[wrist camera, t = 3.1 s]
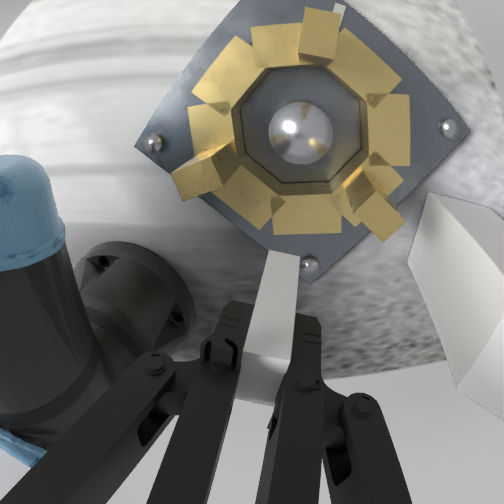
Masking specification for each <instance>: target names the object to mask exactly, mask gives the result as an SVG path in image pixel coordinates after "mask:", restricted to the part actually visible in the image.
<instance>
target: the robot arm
mask: <svg viewBox="0 0 504 504" xmlns="http://www.w3.org/2000/svg"><path fill="white" fill-rule="evenodd" d="M65 241H66V240H65V226H64V223H63V221H62V219H61V218H60V217H59V216H58V212H57V208H56V204H55V200H54V196H53V192H52V188H51V184H50V180H49V177H48V175H47V173H46V171H45V170H44V168H43V167H42V166H41V165H40V164H39V163H38V162H36V161H35V160H33V159H31V158H28V157H25V156H20V155H0V448H1V449H3V450H5V451H6V452H7V453H9V454H10V455H12V456H13V457H15V458H16V459H18V460H19V461H21V462H22V463H24V464H25V465H27V466H29V467H30V468H31V469H30V470H29V471H28V472H27V473H26V474H25V476H23V478H22V479H21V480H20V481H19V482H18V483H17V484H16V485H15V486H14V487H13V488H12V489H11V490H10V491H9V492H8V493H7V494H6V495H5V496H4V498H3V499H2V500H1V501H0V504H106V503H107V502H108V500H109V499H110V498H111V497H112V495H113V494H114V493H115V492H116V490H117V489H118V488H119V487H120V486H121V484H122V483H123V482H124V480H125V479H126V478H127V477H128V476H129V474H130V473H131V472H132V470H133V469H134V468H135V467H136V465H137V464H138V463H139V461H140V460H141V459H142V458H143V456H144V455H145V454H146V453H147V451H148V450H149V449H150V447H151V446H152V445H153V444H154V442H155V441H156V439H157V438H158V437H159V436H160V435H161V433H162V432H163V431H164V429H165V428H166V427H167V425H168V424H169V423H170V421H171V420H172V419H173V418H174V416H175V415H179V418H178V420H177V423H176V426H175V428H174V431H173V433H172V436H171V439H170V441H169V444H168V447H167V449H166V452H165V455H164V457H163V460H162V463H161V466H160V468H159V471H158V474H157V476H156V479H155V482H154V484H153V487H152V490H151V492H150V495H149V498H148V501H147V503H146V504H207V501H208V497H209V494H210V490H211V486H212V482H213V479H214V475H215V471H216V468H217V464H218V460H219V456H220V453H221V449H222V445H223V441H224V438H225V434H226V430H227V426H228V422H229V418H230V414H231V411H232V406H233V401H234V398H235V399H240V400H244V401H249V402H254V403H258V404H263V405H268V406H274V404H275V406H274V412H273V414H272V417H271V420H270V422H269V424H268V427H267V428H268V429H269V432H268V438H267V444H266V449H265V454H264V460H263V465H262V471H261V476H260V481H259V486H258V492H257V497H256V502H255V504H318V501H319V489H320V477H321V463H322V459H323V465H324V469H325V474H326V479H327V484H328V488H329V493H330V498H331V504H412V501H411V498H410V494H409V491H408V488H407V485H406V481H405V478H404V475H403V472H402V469H401V466H400V463H399V460H398V457H397V454H396V451H395V448H394V445H393V442H392V439H391V436H390V433H389V431H388V428H387V425H386V422H385V419H384V417H383V414H382V411H381V409H380V406H379V404H378V402H377V401H376V400H375V399H374V398H373V397H372V396H370V395H367V394H365V393H354V394H351V395H350V396H348V397H346V396H344V395H341V394H339V393H337V392H335V391H333V390H331V389H330V388H329V387H328V386H326V384H325V383H324V381H323V379H322V377H321V325H320V323H319V321H318V319H317V317H313V316H308V315H303V314H298V313H295V310H296V299H297V288H298V276H299V263H300V256H295V255H291V254H286V253H281V252H277V251H272V250H269V252H268V256H267V260H266V264H265V268H264V272H263V276H262V279H261V283H260V287H259V291H258V295H257V299H256V303H255V305H251V304H247V303H242V302H238V301H233V300H231V301H230V302H229V303H228V304H227V305H225V306H224V308H223V311H222V313H221V316H220V318H219V321H218V324H217V326H216V329H215V332H214V334H213V336H210V337H208V338H206V339H204V341H203V342H202V344H201V351H200V358H199V359H197V360H194V361H188V362H174V361H173V359H172V358H171V357H173V356H174V355H175V354H176V353H177V352H178V351H179V350H180V349H181V348H182V347H183V345H184V344H185V342H186V341H187V338H188V336H189V334H190V332H191V330H192V327H193V324H194V318H195V312H194V305H193V301H192V298H191V296H190V293H189V291H188V289H187V287H186V286H185V284H184V282H183V281H182V279H181V278H180V277H179V276H178V274H177V273H176V272H175V271H174V270H173V269H172V268H171V267H170V266H169V265H168V264H167V263H166V262H165V261H163V260H162V259H161V258H159V257H158V256H156V255H155V254H153V253H152V252H150V251H148V250H146V249H144V248H142V247H139V246H136V245H134V244H130V243H125V242H107V243H103V244H100V245H98V246H96V247H94V248H93V249H92V250H91V251H90V252H88V253H87V254H86V255H85V256H84V257H83V258H82V259H81V260H80V261H79V262H78V264H77V265H76V267H75V269H74V271H73V268H72V265H71V261H70V258H69V254H68V250H67V247H66V243H65Z"/></svg>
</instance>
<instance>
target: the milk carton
mask: <svg viewBox="0 0 504 504" xmlns="http://www.w3.org/2000/svg"><path fill="white" fill-rule="evenodd" d="M407 263H408V266H409V268H410V270H411V272H412V274H413V276H414V279H415V281H416V283H417V285H418V288H419V290H420V292H421V294H422V297H423V299H424V301H425V304H426V306H427V309H428V311H429V313H430V316H431V318H432V321H433V323H434V326H435V328H436V331H437V334H438V336H439V339H440V342H441V344H442V347H443V350H444V352H445V355H446V358H447V361H448V364H449V367H450V369H451V373H452V376H453V379H454V382H455V385H456V388H457V390H458V391H459V392H461V393H462V394H464V395H465V396H467V397H468V398H470V399H471V400H473V401H474V402H476V403H477V404H479V405H480V406H482V407H484V408H485V409H486V410H488V411H489V412H491V413H492V414H494V415H495V416H497V417H498V418H500V419H501V420H503V421H504V220H502V219H501V218H500V217H499V216H498V215H497V214H496V213H494V212H493V211H492V210H491V209H490V208H487V207H484V206H480V205H477V204H473V203H469V202H466V201H462V200H458V199H454V198H451V197H447V196H443V195H439V194H435V193H431V192H429V193H428V195H427V198H426V201H425V205H424V209H423V212H422V216H421V219H420V222H419V226H418V229H417V232H416V235H415V239H414V242H413V245H412V248H411V251H410V254H409V257H408V260H407Z"/></svg>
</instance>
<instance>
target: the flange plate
mask: <svg viewBox="0 0 504 504" xmlns="http://www.w3.org/2000/svg"><path fill="white" fill-rule="evenodd" d="M305 7H309V8H314V9H320V10H325V11H329V12H334V13H339V14H341V20H340V26H339V33H340V32H341V31H342V30H343V29H344V28H346V29H347V30H349V31H350V32H351V33H352V34H353V35H355V36H356V37H357V38H358V39H359V40H360V41H362V42H363V43H364V44H365V45H366V46H367V47H369V48H370V49H371V50H372V51H373V52H374V53H375V54H376V55H377V56H378V57H380V58H381V59H382V60H383V61H384V62H385V63H386V64H387V65H388V66H389V67H390V68H391V69H392V70H393V71H394V72H395V73H396V74H397V75H398V76H399V77H400V78H401V79H402V80H401V81H400V82H399V83H398V84H397V85H396V86H395V88H394V89H393V90H392V91H391V92H390V93H394V94H406V95H409V103H410V166H391V167H392V168H393V169H394V170H395V171H396V172H397V173H398V174H399V175H400V177H401V178H402V179H403V180H404V181H403V182H402V183H401V184H400V185H399V186H398V187H397V188H396V189H395V190H394V191H393V192H392V193H390V194H389V195H388V196H389V198H390V199H391V201H392V202H393V204H394V205H395V207H396V206H397V205H398V204H399V203H400V202H401V201H402V200H403V199H404V198H405V197H406V196H407V195H408V194H409V193H410V192H411V191H412V190H413V189H414V188H415V187H416V186H417V185H418V184H419V183H420V182H421V181H422V180H423V179H424V178H425V177H426V176H427V175H428V174H429V173H430V172H431V171H432V170H433V169H434V168H435V167H436V166H437V165H438V164H439V163H440V162H441V161H442V160H443V159H444V158H445V157H446V156H447V155H448V154H449V153H450V151H451V150H452V149H453V148H454V147H455V146H456V145H457V144H458V143H459V142H460V141H461V140H462V139H463V138H464V137H465V136H466V135H467V133H468V132H469V131H470V130H469V128H468V127H467V125H466V124H465V123H464V121H463V120H462V119H461V118H460V116H459V115H458V114H457V112H456V111H455V110H454V109H453V107H452V106H451V105H450V104H449V103H448V101H447V100H446V99H445V98H444V97H443V95H442V94H441V93H440V92H439V91H438V90H437V88H436V87H435V86H434V85H433V84H432V83H431V82H430V81H429V79H428V78H427V77H426V76H425V75H424V74H423V73H422V72H421V71H420V70H419V69H418V68H417V67H416V66H415V64H414V63H413V62H412V61H411V60H410V59H409V58H408V57H407V56H406V55H405V54H404V53H403V52H402V51H401V50H399V49H398V48H397V47H396V46H395V45H394V44H393V43H392V42H391V41H390V40H389V39H388V38H387V37H386V36H385V35H383V34H382V33H381V32H380V31H379V30H378V29H377V28H375V27H374V26H373V25H372V24H371V23H370V22H368V21H367V20H366V19H365V18H364V17H362V16H361V15H360V14H359V13H358V12H356V11H355V10H354V9H352V8H351V7H350V6H349V5H347V4H346V3H345V2H343V1H342V0H240V1H239V2H238V3H237V5H236V6H235V7H234V8H233V9H232V10H231V11H230V12H229V14H228V15H227V16H226V17H225V18H224V19H223V21H222V22H221V23H220V24H219V25H218V27H217V28H216V29H215V30H214V31H213V33H212V34H211V35H210V36H209V38H208V39H207V40H206V41H205V43H204V44H203V45H202V46H201V48H200V49H199V50H198V52H197V53H196V54H195V56H194V57H193V58H192V60H191V61H190V62H189V64H188V65H187V66H186V68H185V69H184V70H183V72H182V73H181V75H180V76H179V77H178V79H177V80H176V82H175V83H174V84H173V86H172V87H171V89H170V90H169V92H168V93H167V95H166V96H165V98H164V99H163V101H162V102H161V104H160V105H159V107H158V108H157V110H156V111H155V113H154V114H153V116H152V118H151V119H150V121H149V122H148V124H147V126H146V127H145V129H144V130H143V132H142V134H141V135H140V137H139V139H138V140H137V142H136V144H135V146H134V147H135V148H137V149H138V150H139V151H141V152H142V153H143V154H144V155H146V156H147V157H148V158H150V159H151V160H152V161H154V162H155V163H156V164H157V165H159V166H160V167H161V168H163V169H164V170H165V171H166V172H168V173H169V174H170V173H172V172H173V171H175V170H176V169H177V168H179V167H180V166H182V165H183V164H185V163H186V162H188V161H189V160H191V159H192V158H194V157H195V154H194V148H193V141H192V135H191V129H190V122H189V116H188V109H187V107H191V106H196V105H201V104H207V103H205V102H204V101H203V100H201V99H200V98H199V97H197V96H196V95H194V94H193V93H192V92H191V91H192V90H193V89H194V87H195V86H196V85H197V83H198V82H199V81H200V79H201V78H202V77H203V75H204V74H205V73H206V71H207V70H208V69H209V67H210V66H211V65H212V64H213V62H214V61H215V60H216V58H217V57H218V56H219V55H220V53H221V52H222V51H223V50H224V49H225V47H226V46H227V45H228V44H229V42H230V41H231V40H232V39H233V38H234V37H235V35H236V36H237V37H239V38H240V39H242V40H243V41H245V42H246V43H248V44H249V45H251V46H252V47H253V43H252V35H251V28H250V27H257V26H266V25H276V24H288V23H303V17H304V11H305ZM339 33H338V34H339ZM239 108H240V116H241V124H242V132H243V140H244V148H245V154H246V155H247V156H249V157H250V158H251V159H252V160H254V161H255V162H256V163H257V164H259V165H260V166H261V167H262V168H263V169H265V170H266V171H267V172H268V173H270V174H271V175H272V176H273V177H274V178H276V179H277V180H278V181H279V182H281V183H282V184H289V183H313V182H330V181H331V180H332V179H333V178H334V177H335V176H336V175H337V174H338V173H339V172H340V171H341V170H342V169H343V167H344V166H345V165H346V164H347V163H348V162H349V161H350V160H351V159H352V158H353V157H354V156H355V155H356V154H357V153H358V152H359V151H360V150H361V149H362V138H361V116H360V101H359V100H358V99H357V98H356V97H355V96H354V95H353V94H352V93H351V92H350V91H348V90H347V89H346V88H345V87H344V86H343V85H342V84H340V83H339V82H338V81H337V80H336V79H335V78H334V77H332V76H331V75H330V74H329V73H328V72H326V71H325V70H324V69H323V68H322V67H312V68H294V69H280V70H270V71H269V72H268V74H267V75H266V76H265V77H264V78H263V79H262V81H261V82H260V83H259V84H258V85H257V86H256V88H255V89H254V90H253V91H252V92H251V94H250V95H249V96H248V97H247V98H246V100H245V101H244V102H243V103H242V105H241V106H240V107H239ZM170 175H171V174H170ZM199 197H200V198H201V199H202V200H204V201H205V202H206V203H208V204H209V205H210V206H211V207H213V208H214V209H215V210H217V211H218V212H219V213H220V214H222V215H223V216H224V217H225V218H227V219H228V220H229V221H231V222H232V223H233V224H234V225H236V226H237V227H238V228H239V229H241V230H242V231H243V232H245V233H246V234H247V235H248V236H250V237H251V238H252V239H253V240H255V241H256V242H257V243H258V244H260V245H261V246H262V247H264V248H265V249H266V250H267V251H269V250H272V251H277V252H281V253H286V254H291V255H295V256H300V263H299V276H300V277H301V278H303V279H304V280H305V281H306V282H308V283H309V284H311V283H312V282H313V281H315V280H316V279H317V278H318V277H319V276H320V275H321V274H323V273H324V272H325V271H326V270H327V269H328V268H329V267H330V266H332V265H333V264H334V263H335V262H336V261H337V260H338V259H339V258H341V257H342V256H343V255H344V254H345V253H346V252H347V251H348V250H349V249H351V248H352V247H353V246H354V245H355V244H356V243H357V242H358V241H359V240H360V239H362V238H363V237H364V236H365V235H366V234H367V233H368V232H369V231H370V229H369V228H368V227H367V226H366V225H365V224H364V223H363V222H362V221H361V222H360V223H359V224H358V225H357V226H356V227H355V226H353V225H352V224H351V223H350V222H349V221H348V220H347V219H346V218H345V217H344V216H343V215H342V214H341V233H320V234H286V235H274V232H273V222H272V217H271V218H270V219H269V220H268V221H267V222H266V223H265V225H264V226H263V227H262V228H261V229H260V230H259V229H257V228H256V227H255V226H254V225H252V224H251V223H250V222H249V221H247V220H246V219H245V218H243V217H242V216H241V215H240V214H238V213H237V212H236V211H235V210H233V209H232V208H231V207H230V206H228V205H227V204H226V203H225V202H223V201H222V200H221V199H219V198H218V197H217V196H216V195H214V194H213V193H212V192H207V193H204V194H201V195H199Z"/></svg>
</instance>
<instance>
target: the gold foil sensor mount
mask: <svg viewBox="0 0 504 504" xmlns="http://www.w3.org/2000/svg"><path fill="white" fill-rule="evenodd" d="M340 20H341V14H339V13H334V12H329V11H325V10H320V9H314V8H309V7H305V11H304V17H303V23H288V24H276V25H266V26H257V27H250V28H251V35H252V43H253V47H252V46H251V45H249V44H248V43H246V42H245V41H243V40H242V39H240V38H239V37H237V36H236V35H235V37H234V38H233V39H232V40H231V41H230V42H229V44H228V45H227V46H226V47H225V49H224V50H223V51H222V52H221V53H220V55H219V56H218V57H217V58H216V60H215V61H214V62H213V64H212V65H211V66H210V67H209V69H208V70H207V71H206V73H205V74H204V75H203V77H202V78H201V79H200V81H199V82H198V83H197V85H196V86H195V87H194V89H193V90H192V91H191V92H192V93H193V94H194V95H196V96H197V97H199V98H200V99H201V100H203V101H204V102H205V103H207V104H201V105H196V106H191V107H187V109H188V116H189V122H190V129H191V135H192V141H193V148H194V154H195V157H194V158H192V159H191V160H189V161H188V162H186V163H185V164H183V165H182V166H180V167H179V168H177V169H176V170H175V171H173V172H172V173H170V174H171V176H172V178H173V180H174V183H175V185H176V187H177V189H178V191H179V193H180V195H181V198H182V200H183V201H185V200H188V199H191V198H193V197H196V196H199V195H201V194H204V193H207V192H212V193H213V194H214V195H216V196H217V197H218V198H219V199H221V200H222V201H223V202H225V203H226V204H227V205H228V206H230V207H231V208H232V209H233V210H235V211H236V212H237V213H238V214H240V215H241V216H242V217H243V218H245V219H246V220H247V221H249V222H250V223H251V224H252V225H254V226H255V227H256V228H257V229H259V230H260V229H261V228H262V227H263V226H264V225H265V223H266V222H267V221H268V220H269V219H270V218H271V217H272V222H273V232H274V235H286V234H320V233H341V214H342V215H343V216H344V217H345V218H346V219H347V220H348V221H349V222H350V223H351V224H352V225H353V226H355V227H356V226H357V225H358V224H359V223H360V222H361V221H362V222H363V223H364V224H365V225H366V226H367V227H368V228H369V229H370V230H371V231H372V232H373V233H374V234H375V235H376V236H377V237H378V238H379V239H380V240H381V241H382V242H384V241H386V240H387V239H388V238H389V237H390V236H391V235H392V234H393V233H394V232H395V231H396V230H398V229H399V228H400V227H401V226H402V225H403V224H404V223H405V220H404V219H403V217H402V216H401V214H400V213H399V211H398V210H397V208H396V207H395V205H394V204H393V202H392V201H391V199H390V198H389V196H388V195H389V194H390V193H392V192H393V191H394V190H395V189H396V188H397V187H398V186H399V185H400V184H401V183H402V182H403V181H404V180H403V179H402V178H401V177H400V175H399V174H398V173H397V172H396V171H395V170H394V169H393V168H392V167H391V166H410V103H409V95H406V94H394V93H390V92H391V91H392V90H393V89H394V88H395V86H396V85H397V84H398V83H399V82H400V81H401V80H402V79H401V78H400V77H399V76H398V75H397V74H396V73H395V72H394V71H393V70H392V69H391V68H390V67H389V66H388V65H387V64H386V63H385V62H384V61H383V60H382V59H381V58H380V57H378V56H377V55H376V54H375V53H374V52H373V51H372V50H371V49H370V48H369V47H367V46H366V45H365V44H364V43H363V42H362V41H360V40H359V39H358V38H357V37H356V36H355V35H353V34H352V33H351V32H350V31H349V30H347V29H346V28H344V29H343V30H342V31H341V32H340V33H339V26H340ZM338 33H339V34H338ZM312 67H322V68H323V69H324V70H325V71H326V72H328V73H329V74H330V75H331V76H332V77H334V78H335V79H336V80H337V81H338V82H339V83H340V84H342V85H343V86H344V87H345V88H346V89H347V90H348V91H350V92H351V93H352V94H353V95H354V96H355V97H356V98H357V99H358V100H359V101H360V116H361V138H362V149H361V150H360V151H359V152H358V153H357V154H356V155H355V156H354V157H353V158H352V159H351V160H350V161H349V162H348V163H347V164H346V165H345V166H344V167H343V169H342V170H341V171H340V172H339V173H338V174H337V175H336V176H335V177H334V178H333V179H332V180H331V181H330V182H313V183H289V184H282V183H281V182H279V181H278V180H277V179H276V178H274V177H273V176H272V175H271V174H270V173H268V172H267V171H266V170H265V169H263V168H262V167H261V166H260V165H259V164H257V163H256V162H255V161H254V160H252V159H251V158H250V157H249V156H247V155H246V154H245V148H244V140H243V132H242V124H241V116H240V108H239V107H240V106H241V105H242V103H243V102H244V101H245V100H246V98H247V97H248V96H249V95H250V94H251V92H252V91H253V90H254V89H255V88H256V86H257V85H258V84H259V83H260V82H261V81H262V79H263V78H264V77H265V76H266V75H267V74H268V72H269V71H270V70H280V69H294V68H312Z"/></svg>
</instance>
